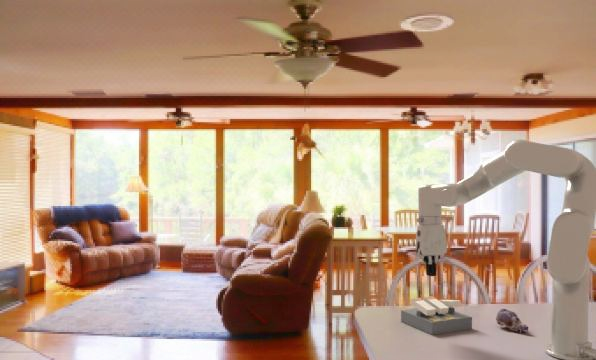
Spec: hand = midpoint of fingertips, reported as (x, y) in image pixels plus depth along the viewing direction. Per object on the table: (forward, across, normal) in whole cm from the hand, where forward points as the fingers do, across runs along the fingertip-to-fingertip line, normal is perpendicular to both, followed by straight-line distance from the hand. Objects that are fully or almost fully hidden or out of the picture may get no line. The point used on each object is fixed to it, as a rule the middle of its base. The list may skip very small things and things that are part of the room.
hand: (431, 275), depth 176 cm
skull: (+19, +26, -10) cm, 34 cm away
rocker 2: (+11, +5, +4) cm, 13 cm away
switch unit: (+18, +5, +4) cm, 20 cm away
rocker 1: (+11, 0, +4) cm, 12 cm away
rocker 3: (+11, +11, +4) cm, 16 cm away
